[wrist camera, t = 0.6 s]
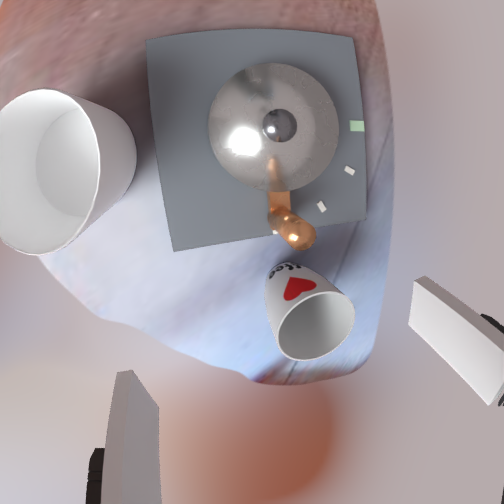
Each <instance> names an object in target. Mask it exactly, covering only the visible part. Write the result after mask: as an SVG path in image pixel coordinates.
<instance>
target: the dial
mask: <svg viewBox="0 0 504 504" xmlns="http://www.w3.org/2000/svg"><path fill="white" fill-rule="evenodd" d="M207 133H208V139H209V143H210V146H211V149H212V151H213V153H214V155H215V157H216V159H217V160H218V162H219V163H220V165H221V166H222V167H223V168H224V169H225V170H226V171H227V172H228V173H229V174H230V175H232V176H233V177H234V178H236V179H237V180H239V181H240V182H242V183H244V184H246V185H248V186H250V187H252V188H255V189H258V190H262V191H267V200H268V211H269V212H268V215H267V220H268V223H269V224H270V228H271V229H272V230H276V231H277V232H278V233H279V234H280V235H281V236H282V237H283V239H284V240H285V241H286V242H287V243H288V244H289V245H290V246H291V247H292V248H294V249H295V250H298V251H303V250H306V249H308V248H310V247H311V246H312V245H313V243H314V241H315V239H316V231H315V228H314V227H313V226H312V225H311V224H310V223H308V222H307V221H305V220H304V219H302V218H301V217H299V216H298V215H296V214H295V213H294V212H292V211H291V206H290V191H291V190H295V189H298V188H301V187H303V186H305V185H307V184H308V183H310V182H312V181H313V180H315V179H316V178H317V177H318V176H319V175H320V174H321V173H322V172H323V171H324V170H325V169H326V167H327V166H328V165H329V163H330V161H331V160H332V158H333V156H334V153H335V150H336V148H337V143H338V137H339V122H338V116H337V112H336V109H335V106H334V104H333V101H332V100H331V98H330V96H329V94H328V93H327V91H326V90H325V89H324V87H323V86H322V85H321V84H320V83H319V82H318V81H317V80H316V79H314V78H313V77H312V76H311V75H309V74H307V73H306V72H304V71H302V70H300V69H298V68H296V67H293V66H290V65H285V64H280V63H264V64H258V65H254V66H251V67H248V68H246V69H244V70H242V71H240V72H238V73H237V74H235V75H234V76H232V77H231V78H230V79H229V80H228V81H227V82H226V83H225V84H224V85H223V86H222V88H221V89H220V90H219V92H218V94H217V95H216V97H215V99H214V101H213V103H212V105H211V108H210V111H209V115H208V122H207Z"/></svg>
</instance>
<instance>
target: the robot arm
mask: <svg viewBox="0 0 504 504" xmlns="http://www.w3.org/2000/svg"><path fill="white" fill-rule="evenodd" d="M409 326H410V327H411V328H412V329H413V330H414V331H416V332H417V333H418V334H419V335H420V336H421V337H422V338H423V339H424V340H425V341H426V342H427V343H428V344H429V345H430V346H431V347H432V348H433V349H434V350H435V351H436V352H437V353H438V354H439V355H440V356H441V357H442V358H443V359H445V361H446V362H447V363H448V364H449V365H450V366H451V367H452V368H453V369H454V370H455V371H456V372H457V373H458V374H459V375H460V376H461V377H462V378H463V379H464V380H465V381H466V382H467V383H468V384H469V385H470V386H471V387H472V388H473V390H474V391H475V392H476V393H477V394H478V395H479V396H480V397H481V398H482V399H483V400H484V401H485V403H486V404H487V405H490V404H491V403H492V402H493V401H494V400H495V399H496V398H497V397H498V396H499V395H500V393H501V392H502V390H503V388H504V326H502V325H500V324H499V323H498V322H497V321H496V320H495V319H493V318H492V317H490V316H487V315H484V314H481V315H479V314H478V313H476V312H475V311H474V310H472V309H471V308H470V307H468V306H467V305H466V304H464V303H463V302H462V301H460V300H459V299H457V298H456V297H455V296H453V295H452V294H450V293H449V292H448V291H446V290H445V289H444V288H442V287H441V286H439V285H438V284H436V283H435V282H434V281H432V280H431V279H429V278H428V277H426V276H423V277H421V278H419V279H417V280H415V281H414V288H413V297H412V304H411V311H410V318H409ZM503 401H504V394H503V396H502V397H501V399H500V400H499V404H498V406H500V405H501V404H502V403H503ZM503 406H504V403H503ZM86 504H162V500H161V485H160V464H159V407H158V406H157V404H156V403H155V401H154V400H153V399H152V397H151V396H150V395H149V393H148V392H147V390H146V389H145V388H144V386H143V385H142V383H141V382H140V380H139V379H138V377H137V376H136V374H135V373H134V372H133V370H129V371H123V372H117V376H116V380H115V386H114V391H113V397H112V402H111V408H110V415H109V421H108V429H107V436H106V444H105V448H95V450H94V452H93V454H92V456H91V458H90V462H89V473H88V482H87V491H86ZM501 504H504V489H503V496H502V502H501Z"/></svg>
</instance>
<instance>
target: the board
mask: <svg viewBox="0 0 504 504" xmlns="http://www.w3.org/2000/svg"><path fill="white" fill-rule="evenodd" d="M146 59H147V74H148V87H149V98H150V108H151V117H152V126H153V134H154V142H155V150H156V157H157V163H158V170H159V176H160V183H161V189H162V195H163V200H164V206H165V211H166V217H167V222H168V227H169V232H170V237H171V242H172V247H173V251H174V252H176V251H182V250H188V249H193V248H199V247H204V246H210V245H216V244H222V243H227V242H233V241H239V240H245V239H251V238H257V237H263V236H269V235H275V234H279V233H278V232H277V231H276V230H272V229H271V228H270V224H269V223H268V220H267V215H268V212H269V211H268V200H267V191H262V190H258V189H255V188H252V187H250V186H248V185H246V184H244V183H242V182H240V181H239V180H237V179H236V178H234V177H233V176H232V175H230V174H229V173H228V172H227V171H226V170H225V169H224V168H223V167H222V166H221V165H220V163H219V162H218V160H217V159H216V157H215V155H214V153H213V151H212V149H211V146H210V143H209V139H208V133H207V122H208V115H209V111H210V108H211V105H212V103H213V101H214V99H215V97H216V95H217V94H218V92H219V90H220V89H221V88H222V86H223V85H224V84H225V83H226V82H227V81H228V80H229V79H230V78H231V77H232V76H234V75H235V74H237V73H238V72H240V71H242V70H244V69H246V68H248V67H251V66H254V65H258V64H264V63H280V64H285V65H290V66H293V67H296V68H298V69H300V70H302V71H304V72H306V73H307V74H309V75H311V76H312V77H313V78H314V79H316V80H317V81H318V82H319V83H320V84H321V85H322V86H323V87H324V89H325V90H326V91H327V93H328V94H329V96H330V98H331V100H332V101H333V104H334V106H335V109H336V112H337V116H338V122H339V137H338V143H337V148H336V150H335V153H334V156H333V158H332V160H331V161H330V163H329V165H328V166H327V167H326V169H325V170H324V171H323V172H322V173H321V174H320V175H319V176H318V177H317V178H316V179H315V180H313V181H312V182H310V183H308V184H307V185H305V186H303V187H301V188H298V189H295V190H291V191H290V206H291V211H292V212H294V213H295V214H296V215H298V216H299V217H301V218H302V219H304V220H305V221H307V222H308V223H310V224H311V225H312V226H313V227H314V228H317V227H324V226H330V225H336V224H342V223H349V222H355V221H362V220H366V152H365V134H364V131H365V130H364V120H363V109H362V99H361V90H360V82H359V74H358V67H357V61H356V55H355V49H354V43H353V38H351V37H345V36H339V35H333V34H326V33H318V32H309V31H297V30H282V29H228V30H213V31H201V32H192V33H184V34H177V35H171V36H165V37H159V38H154V39H149V40H146Z"/></svg>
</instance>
